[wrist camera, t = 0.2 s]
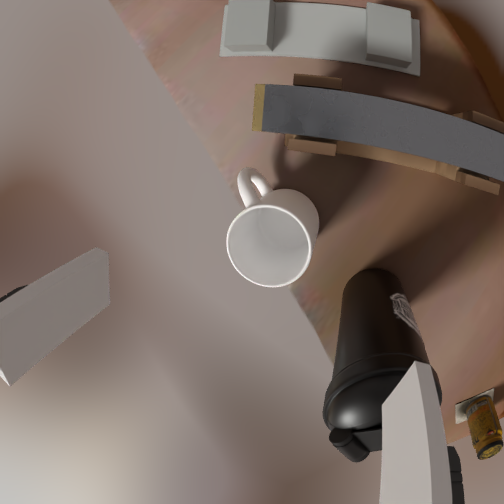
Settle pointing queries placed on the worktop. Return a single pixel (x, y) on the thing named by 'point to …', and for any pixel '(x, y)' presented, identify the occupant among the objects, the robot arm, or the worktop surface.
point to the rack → (391, 156)
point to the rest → (323, 33)
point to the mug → (271, 232)
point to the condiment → (482, 424)
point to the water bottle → (370, 360)
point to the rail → (379, 125)
